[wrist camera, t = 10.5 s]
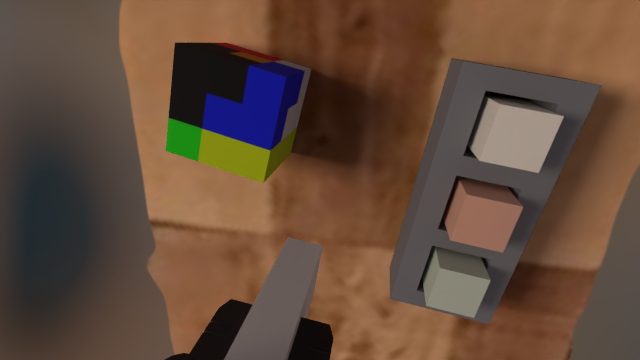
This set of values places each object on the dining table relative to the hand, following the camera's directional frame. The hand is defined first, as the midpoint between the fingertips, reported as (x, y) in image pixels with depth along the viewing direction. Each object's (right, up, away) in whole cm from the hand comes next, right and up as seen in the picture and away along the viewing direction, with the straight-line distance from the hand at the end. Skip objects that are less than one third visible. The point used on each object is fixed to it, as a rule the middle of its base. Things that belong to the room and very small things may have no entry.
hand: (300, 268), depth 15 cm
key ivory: (+18, +10, +20) cm, 29 cm away
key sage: (+16, -5, +26) cm, 31 cm away
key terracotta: (+17, +2, +23) cm, 29 cm away
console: (+17, +3, +24) cm, 30 cm away
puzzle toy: (-6, +13, +25) cm, 29 cm away
